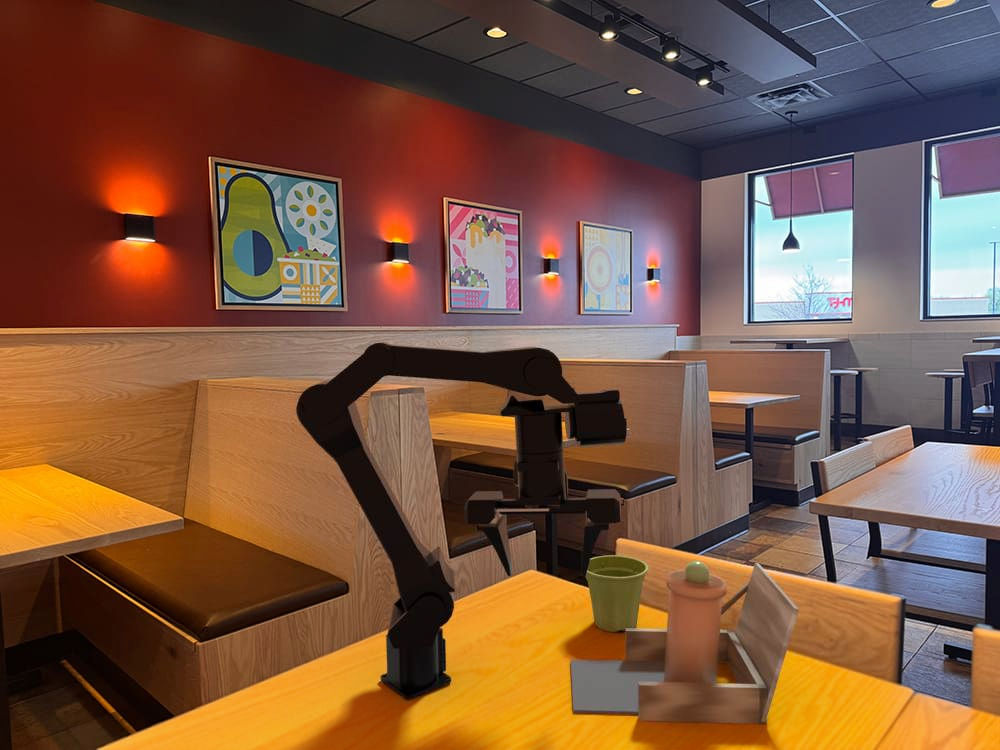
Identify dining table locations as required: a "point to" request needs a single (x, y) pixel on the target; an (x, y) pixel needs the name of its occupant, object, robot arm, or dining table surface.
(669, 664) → the pink lidded canister
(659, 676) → the mat
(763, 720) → the brown open rectangular box
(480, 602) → the dining table surface
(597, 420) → the robot arm
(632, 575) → the plant pot
